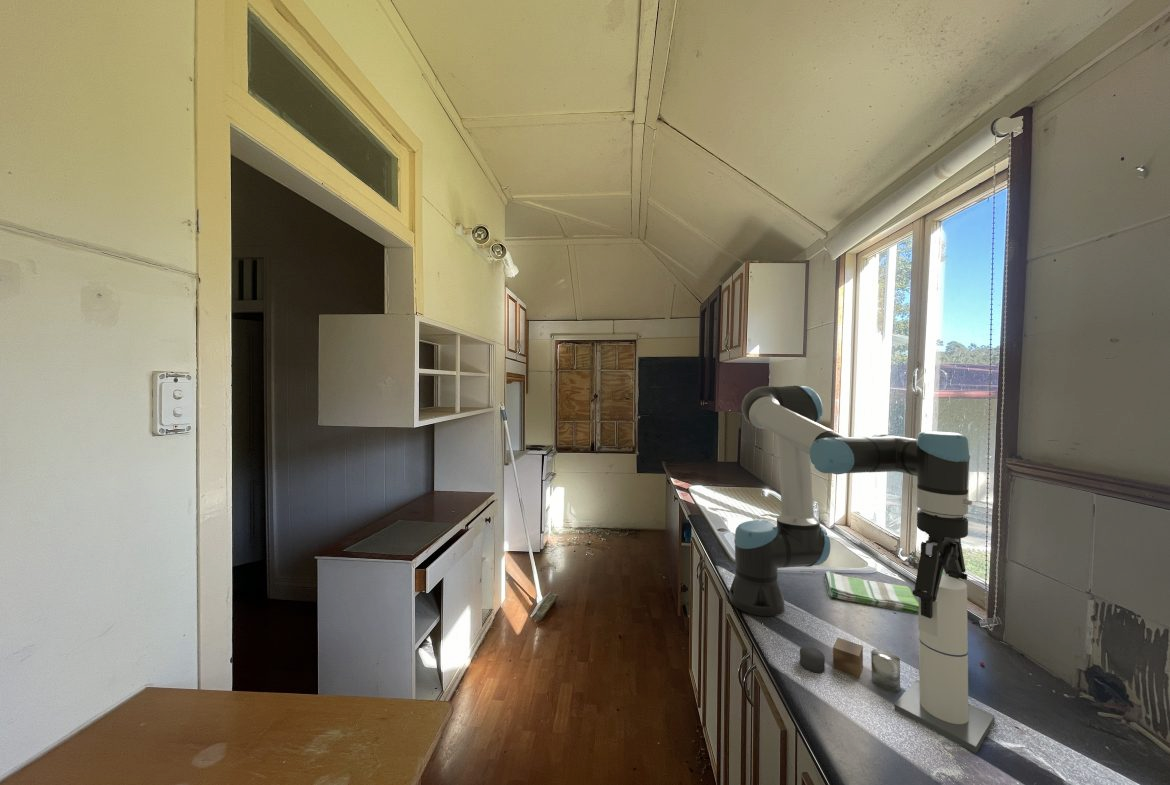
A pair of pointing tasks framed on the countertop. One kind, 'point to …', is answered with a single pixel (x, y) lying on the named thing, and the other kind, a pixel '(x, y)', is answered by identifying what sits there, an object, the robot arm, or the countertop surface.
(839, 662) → the walnut block
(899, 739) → the countertop surface
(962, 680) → the cylindrical container
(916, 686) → the plate
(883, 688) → the grey metal tin
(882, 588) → the dish towel
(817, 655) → the black rubber puck
